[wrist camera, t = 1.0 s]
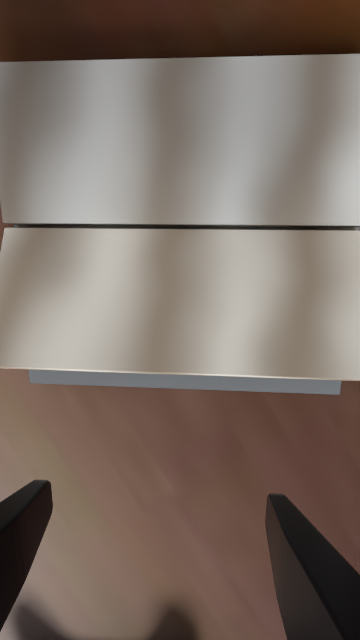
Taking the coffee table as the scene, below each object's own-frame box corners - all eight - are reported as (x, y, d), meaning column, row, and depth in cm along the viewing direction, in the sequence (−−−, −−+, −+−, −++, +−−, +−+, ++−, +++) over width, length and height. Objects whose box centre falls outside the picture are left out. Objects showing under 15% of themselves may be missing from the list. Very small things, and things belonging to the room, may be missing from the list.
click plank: (350, 247, 16) (368, 230, 15) (362, 381, 15) (384, 380, 13) (23, 244, 17) (4, 227, 16) (3, 368, 16) (-20, 366, 14)
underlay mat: (376, 72, 15) (383, 64, 15) (335, 390, 19) (339, 394, 18) (6, 79, 16) (-1, 72, 16) (34, 379, 20) (29, 383, 19)
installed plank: (371, 76, 15) (394, 52, 13) (351, 238, 16) (369, 236, 15) (9, 83, 16) (-15, 62, 14) (23, 235, 17) (3, 232, 16)
